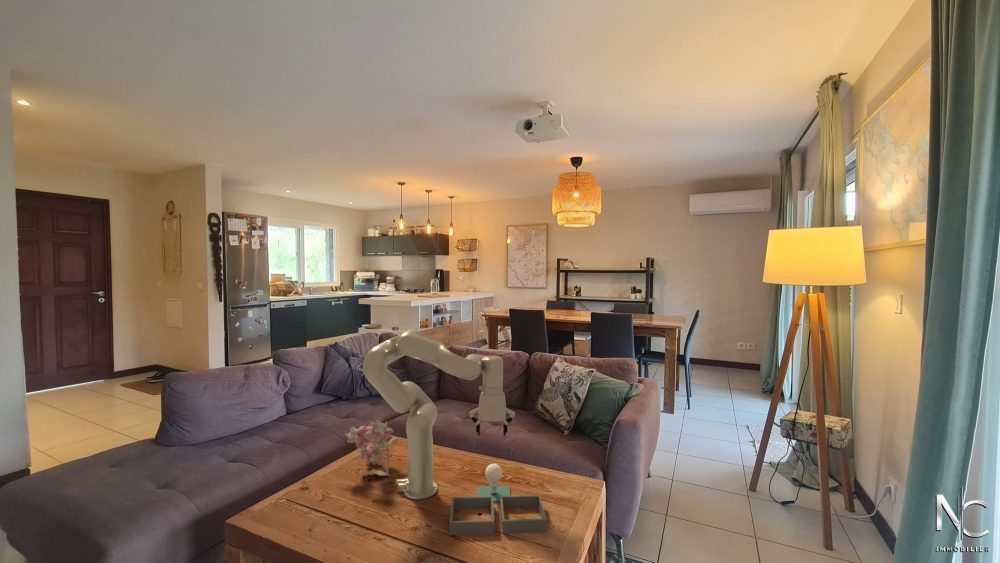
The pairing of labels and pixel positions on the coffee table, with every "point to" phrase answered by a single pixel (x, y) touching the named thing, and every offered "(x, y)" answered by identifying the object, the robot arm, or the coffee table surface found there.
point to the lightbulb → (493, 476)
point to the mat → (496, 497)
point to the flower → (379, 439)
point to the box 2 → (523, 524)
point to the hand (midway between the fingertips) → (491, 434)
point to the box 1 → (471, 526)
